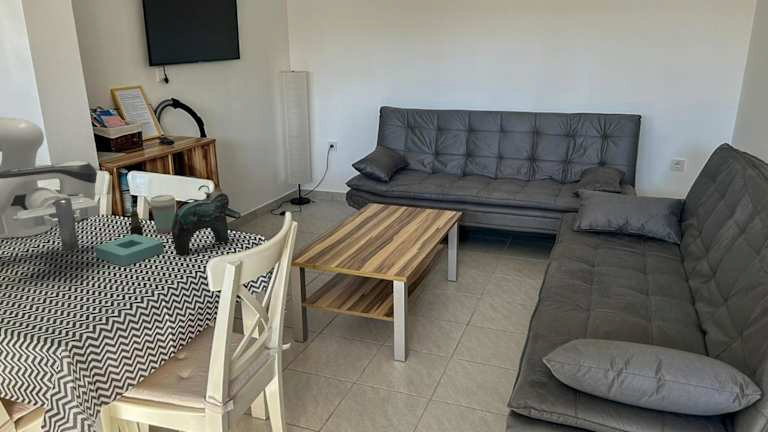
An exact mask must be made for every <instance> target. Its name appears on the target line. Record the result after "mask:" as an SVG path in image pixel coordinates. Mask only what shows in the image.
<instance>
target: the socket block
mask: <svg viewBox="0 0 768 432" xmlns="http://www.w3.org/2000/svg"><path fill="white" fill-rule="evenodd" d="M164 247H165V245H164V241H161V240H157V239H154V238H151V237H147V236H143V235H137V234H133V235H131V234H129V235H128V236H127V235H126V236H123V237H121V238H118V239H114V240H111V241H107V242H105V243H102V244H98V245H95V246H94V253H95V258H97V259H100V260H102V261H105V262H109V263H112V264H114V265H118V266H119V267H120V266H121V267H125V268H126V267H127V266H128V267H129V266H131V265H133V264H135V263H139V262H141V261H144V260H146V259H150V258H153V257H155V256H159V255H161V254H164V253H165V248H164Z"/></svg>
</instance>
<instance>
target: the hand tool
mask: <svg viewBox="0 0 768 432" xmlns="http://www.w3.org/2000/svg"><path fill="white" fill-rule="evenodd" d="M129 217H130V228H129V233H130V235H133V234H137V235H140V236H143V230H144V229H143V228H144V227H143V226H142V222H141V221H140V218H139V217H140V216H139V212H138V211H137V210H134V209H133V210H131V212H130V216H129Z"/></svg>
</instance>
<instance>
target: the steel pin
mask: <svg viewBox="0 0 768 432" xmlns="http://www.w3.org/2000/svg"><path fill="white" fill-rule="evenodd" d="M54 204H55V209H56V215H57V218H58V220H59V222H58V223H59V225H57V227H58V232H59V237H60V238H59V239H60V242H61V248H62V251H63V252H73V251H76V250H79V249H80V247H79V246H80V245H79V240H78V235H77V227H76V223H75V221H74V215H73V209H72V203H71V199H69V198H63V199H57V200H55V201H54Z"/></svg>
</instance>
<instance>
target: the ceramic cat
mask: <svg viewBox="0 0 768 432" xmlns="http://www.w3.org/2000/svg"><path fill="white" fill-rule="evenodd" d="M204 187H206V188H207V189H208V192H207V191H206V192H205V191H204V194H205V195H206V196H205V198H204V199H195V198H188V199H186V200H184V201H181V202H180V203H179V204H178V206H177V207H176V208H175V216H174V219H173V223H172V228H171V230H172V232H171V239H172V241H173V245H174V249H175V253H176V255H178V256H181V257H182V256H186V255H189V254H190V252H191V251H190V244H191V240H192V238H193V236H195V235H194V234H196V233H197V232H199V231H201V230H205V229H210V230H211V232H212V234H213V237H214V241H216V243H217V242H219V243H218V244H220V243H222V242H224V243H226V242H225V241H227V242H229V232H228V219H227V215H226V210H227V209H228V207H229V206H230V205H229V204H230V201H229V200H230V199H229V196H228V195H227V193H224V192H223V191H222V189H221V187H219V186H218V187H217V190H216V191H212V192H211V191H210V187H209V186H207V185H205V184H204V185H201V186H199V187H198V190H197V191H198V192H200V190H201V189H202V188H204ZM187 202H188V203H187ZM185 203H186V204H185ZM183 204H184V205H183ZM181 205H182V206H181ZM222 244H223V243H222Z"/></svg>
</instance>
